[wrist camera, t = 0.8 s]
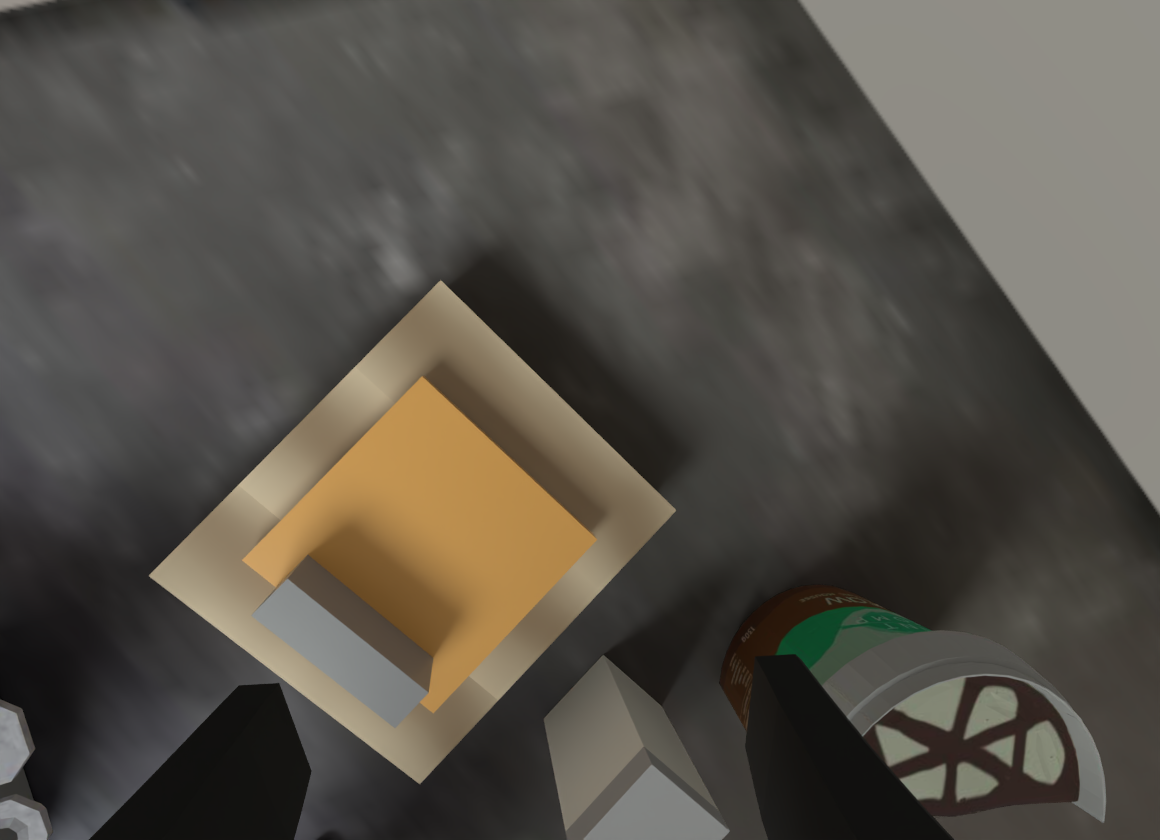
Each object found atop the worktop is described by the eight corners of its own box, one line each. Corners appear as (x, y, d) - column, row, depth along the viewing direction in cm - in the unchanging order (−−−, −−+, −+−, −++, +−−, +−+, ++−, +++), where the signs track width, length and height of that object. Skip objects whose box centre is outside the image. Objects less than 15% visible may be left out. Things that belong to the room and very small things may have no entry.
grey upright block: (603, 769, 29) (651, 917, 22) (543, 718, 29) (569, 853, 21) (661, 706, 30) (729, 831, 22) (603, 654, 29) (651, 764, 21)
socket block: (425, 739, 28) (419, 784, 25) (186, 551, 25) (148, 576, 22) (655, 494, 29) (676, 510, 26) (444, 289, 26) (440, 279, 23)
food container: (933, 562, 31) (1142, 654, 22) (919, 680, 32) (1117, 821, 22) (700, 558, 29) (816, 658, 19) (689, 684, 30) (796, 843, 20)
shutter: (434, 702, 24) (428, 754, 21) (249, 553, 23) (212, 585, 19) (593, 533, 25) (611, 559, 22) (423, 375, 23) (415, 378, 20)
